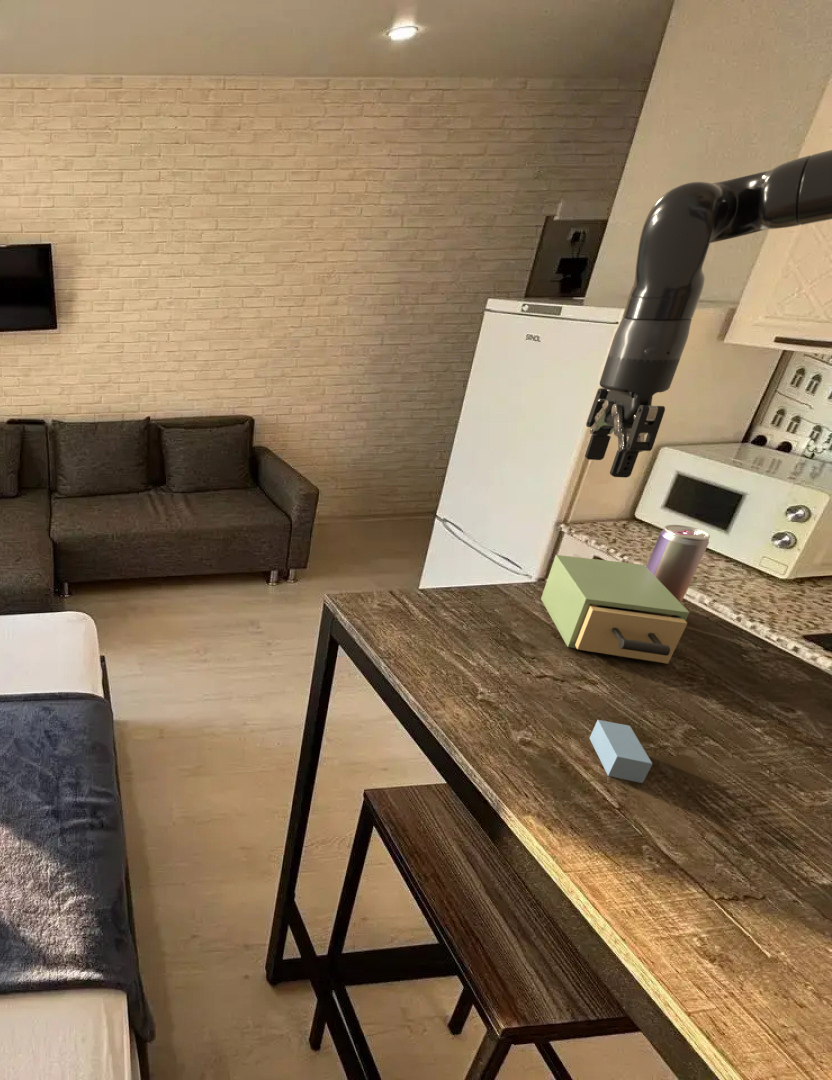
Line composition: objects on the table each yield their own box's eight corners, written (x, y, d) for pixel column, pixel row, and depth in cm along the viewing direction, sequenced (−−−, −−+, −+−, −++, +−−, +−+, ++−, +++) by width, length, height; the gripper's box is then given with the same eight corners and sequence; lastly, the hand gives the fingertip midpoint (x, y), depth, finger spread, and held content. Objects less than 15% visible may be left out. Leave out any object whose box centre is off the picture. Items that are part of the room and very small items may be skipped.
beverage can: (622, 601, 104) (653, 526, 97) (649, 598, 104) (682, 522, 98) (655, 619, 98) (691, 540, 92) (685, 615, 99) (722, 537, 93)
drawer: (683, 683, 82) (704, 641, 79) (587, 667, 86) (604, 626, 83) (629, 613, 99) (645, 576, 95) (550, 602, 102) (563, 566, 99)
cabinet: (665, 662, 88) (689, 612, 84) (567, 647, 92) (586, 598, 88) (625, 610, 101) (644, 564, 97) (540, 598, 105) (555, 554, 101)
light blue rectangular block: (621, 744, 74) (630, 725, 72) (642, 783, 68) (652, 763, 67) (589, 738, 75) (597, 719, 74) (607, 776, 69) (617, 756, 68)
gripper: (709, 361, 71) (662, 485, 78) (651, 347, 83) (614, 455, 90) (636, 361, 73) (596, 481, 80) (589, 347, 86) (558, 452, 92)
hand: (605, 467), depth 85 cm, fingers open, 8 cm apart
